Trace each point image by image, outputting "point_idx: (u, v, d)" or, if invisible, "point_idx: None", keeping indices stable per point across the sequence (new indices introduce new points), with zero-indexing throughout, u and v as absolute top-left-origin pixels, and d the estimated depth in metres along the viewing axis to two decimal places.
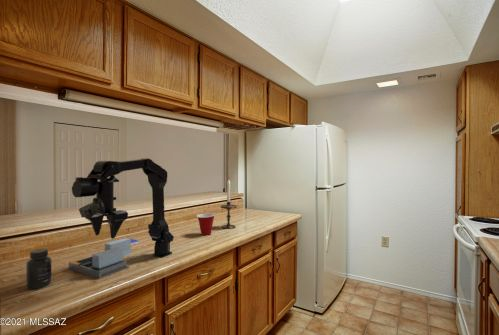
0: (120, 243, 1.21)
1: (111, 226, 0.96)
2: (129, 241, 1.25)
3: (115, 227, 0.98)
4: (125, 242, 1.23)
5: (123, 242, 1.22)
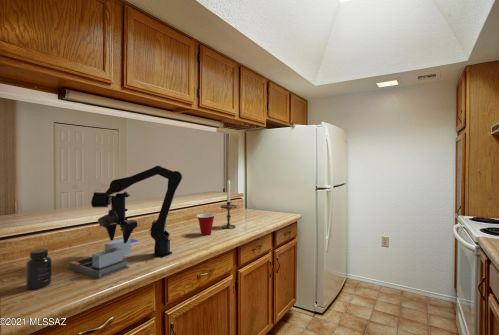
0: (120, 243, 1.21)
1: (124, 233, 1.18)
2: (129, 241, 1.25)
3: (127, 234, 1.19)
4: None
5: (123, 242, 1.22)
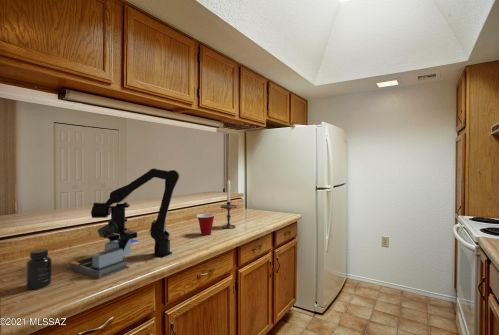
0: None
1: (120, 243, 1.19)
2: (129, 241, 1.25)
3: (123, 243, 1.20)
4: None
5: None
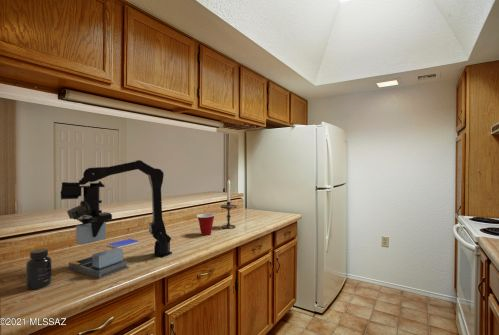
0: None
1: (93, 226, 1.08)
2: (104, 224, 1.14)
3: (96, 227, 1.10)
4: None
5: None
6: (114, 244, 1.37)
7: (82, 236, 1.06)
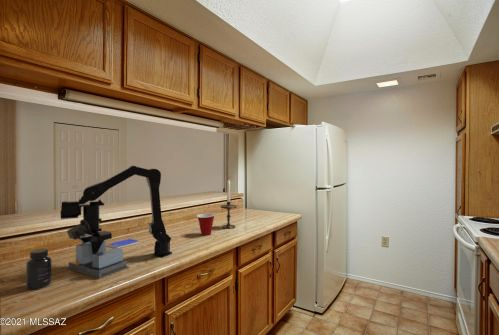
0: None
1: (93, 245, 1.08)
2: (104, 242, 1.14)
3: (96, 245, 1.10)
4: None
5: None
6: (114, 244, 1.37)
7: (82, 256, 1.06)
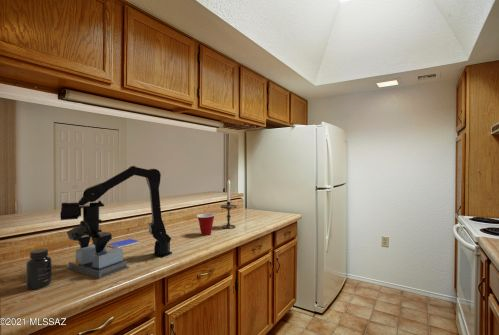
0: (93, 249, 1.10)
1: (96, 247, 1.07)
2: None
3: (100, 247, 1.09)
4: None
5: None
6: (114, 244, 1.37)
7: (82, 261, 1.06)
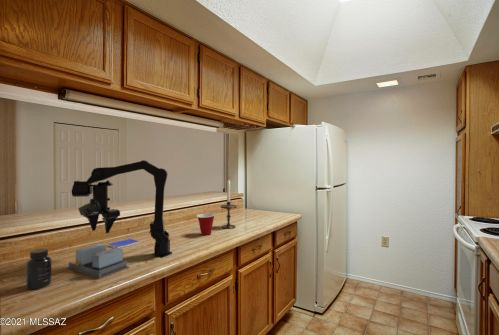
0: (93, 249, 1.10)
1: (106, 222, 1.15)
2: (104, 247, 1.14)
3: (109, 223, 1.16)
4: (99, 248, 1.12)
5: (97, 248, 1.11)
6: (114, 244, 1.37)
7: (82, 261, 1.06)
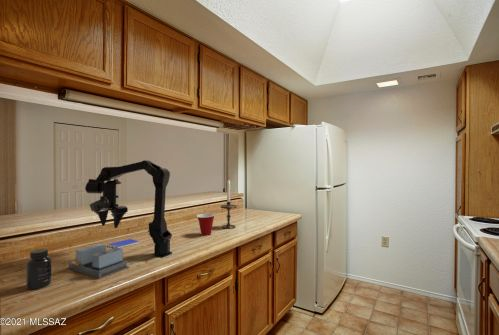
0: (93, 249, 1.10)
1: (114, 218, 1.24)
2: (104, 247, 1.14)
3: (117, 219, 1.25)
4: (99, 248, 1.12)
5: (97, 248, 1.11)
6: (114, 244, 1.37)
7: (82, 261, 1.06)
